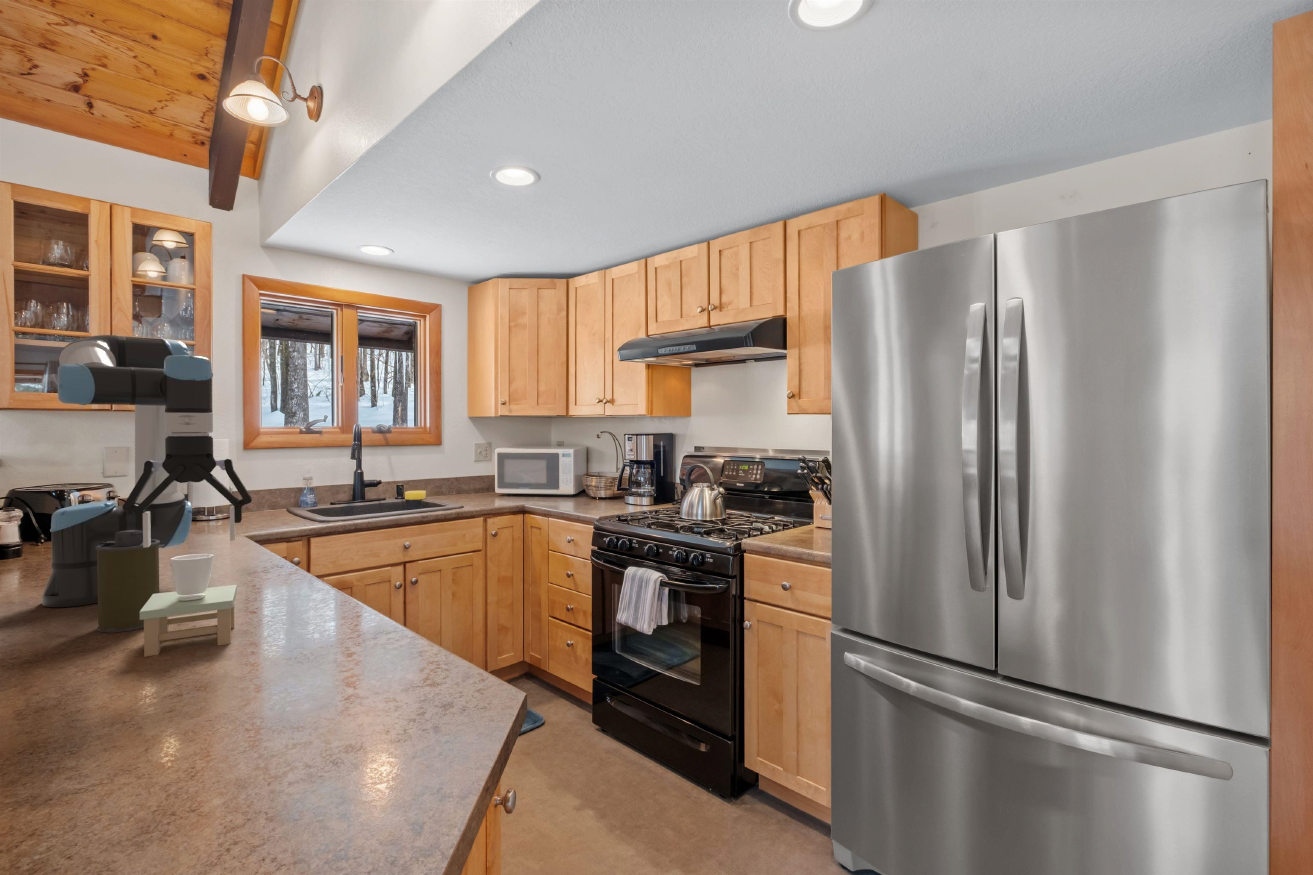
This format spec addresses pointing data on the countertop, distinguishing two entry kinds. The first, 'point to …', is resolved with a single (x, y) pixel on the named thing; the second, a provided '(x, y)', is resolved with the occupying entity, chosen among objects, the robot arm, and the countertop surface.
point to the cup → (191, 575)
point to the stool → (187, 616)
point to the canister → (125, 580)
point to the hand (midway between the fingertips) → (191, 542)
